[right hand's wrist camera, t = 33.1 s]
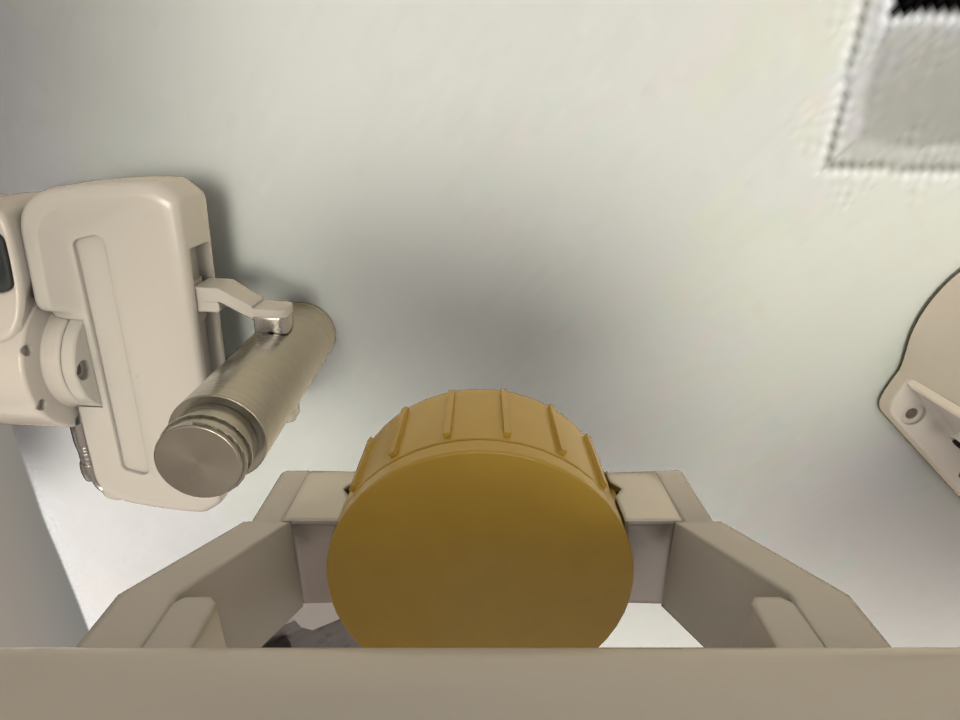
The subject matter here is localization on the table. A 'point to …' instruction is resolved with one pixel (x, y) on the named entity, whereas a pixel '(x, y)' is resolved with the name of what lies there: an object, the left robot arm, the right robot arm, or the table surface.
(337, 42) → the table surface
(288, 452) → the table surface
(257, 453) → the thermos bottle
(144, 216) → the left robot arm
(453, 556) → the lid
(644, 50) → the table surface
